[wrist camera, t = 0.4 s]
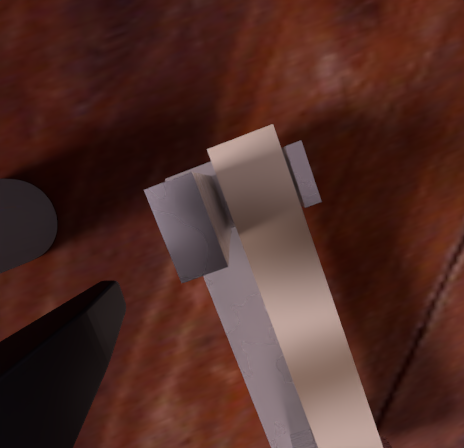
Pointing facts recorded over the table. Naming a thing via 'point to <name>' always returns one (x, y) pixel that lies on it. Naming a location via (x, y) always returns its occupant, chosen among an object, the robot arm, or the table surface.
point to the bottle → (24, 223)
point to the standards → (237, 286)
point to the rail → (294, 288)
